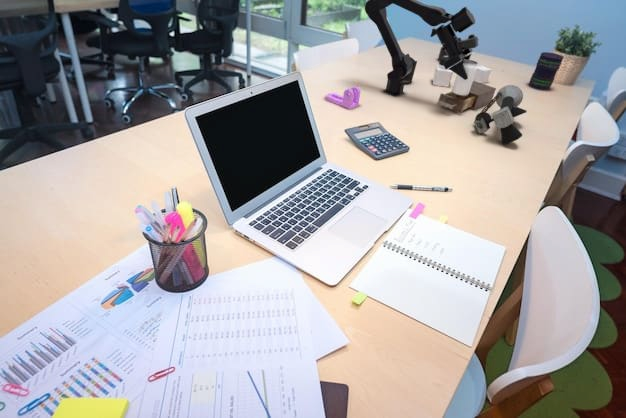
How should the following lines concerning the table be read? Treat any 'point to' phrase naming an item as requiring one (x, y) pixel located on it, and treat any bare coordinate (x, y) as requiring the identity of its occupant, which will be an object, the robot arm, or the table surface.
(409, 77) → the pen holder
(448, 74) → the medicine bottle
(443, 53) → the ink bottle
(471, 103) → the drawer
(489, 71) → the white cube
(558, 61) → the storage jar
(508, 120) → the abstract shape sculpture
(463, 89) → the can
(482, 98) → the organizer
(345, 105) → the bracket
